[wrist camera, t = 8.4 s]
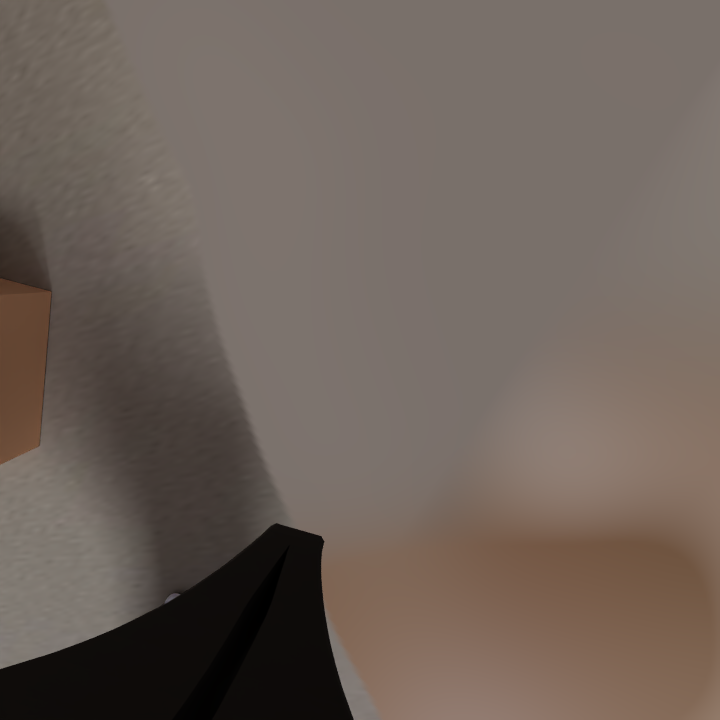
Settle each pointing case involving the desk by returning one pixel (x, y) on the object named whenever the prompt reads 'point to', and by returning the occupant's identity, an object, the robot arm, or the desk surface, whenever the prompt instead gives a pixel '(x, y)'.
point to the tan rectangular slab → (22, 365)
